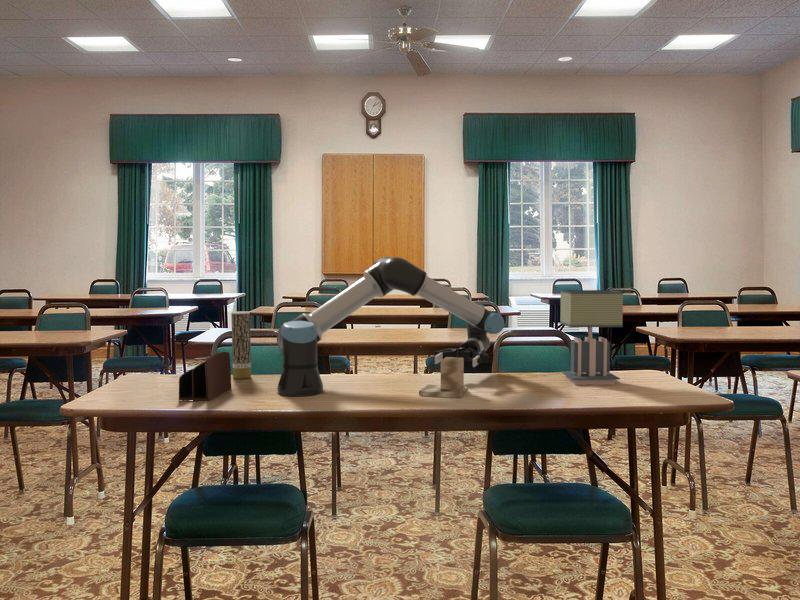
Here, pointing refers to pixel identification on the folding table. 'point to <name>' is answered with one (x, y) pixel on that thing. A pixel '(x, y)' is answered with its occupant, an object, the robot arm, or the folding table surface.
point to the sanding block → (452, 374)
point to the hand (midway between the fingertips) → (454, 361)
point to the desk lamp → (591, 312)
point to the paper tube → (241, 344)
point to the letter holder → (206, 379)
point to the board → (441, 392)
